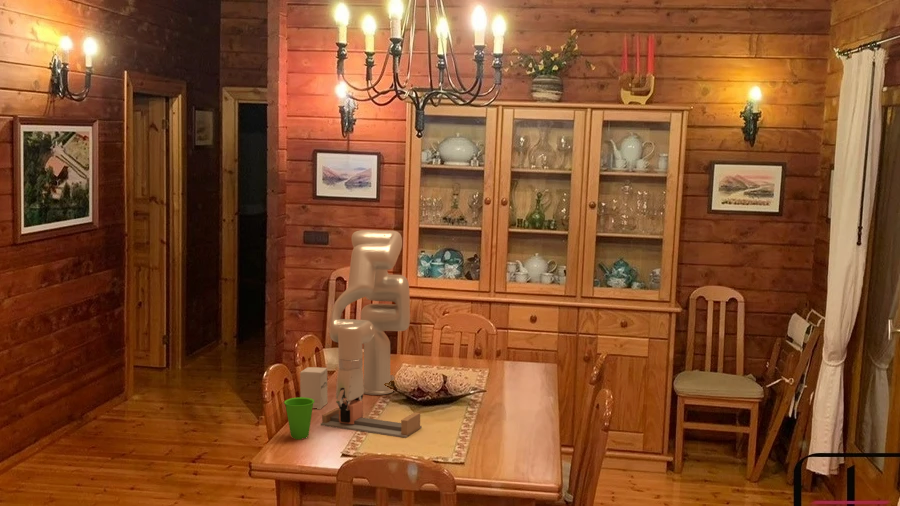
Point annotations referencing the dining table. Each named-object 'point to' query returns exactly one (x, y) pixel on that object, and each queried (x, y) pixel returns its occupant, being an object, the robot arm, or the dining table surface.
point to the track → (375, 424)
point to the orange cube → (354, 411)
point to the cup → (299, 416)
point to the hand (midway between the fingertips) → (351, 418)
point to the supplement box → (314, 385)
